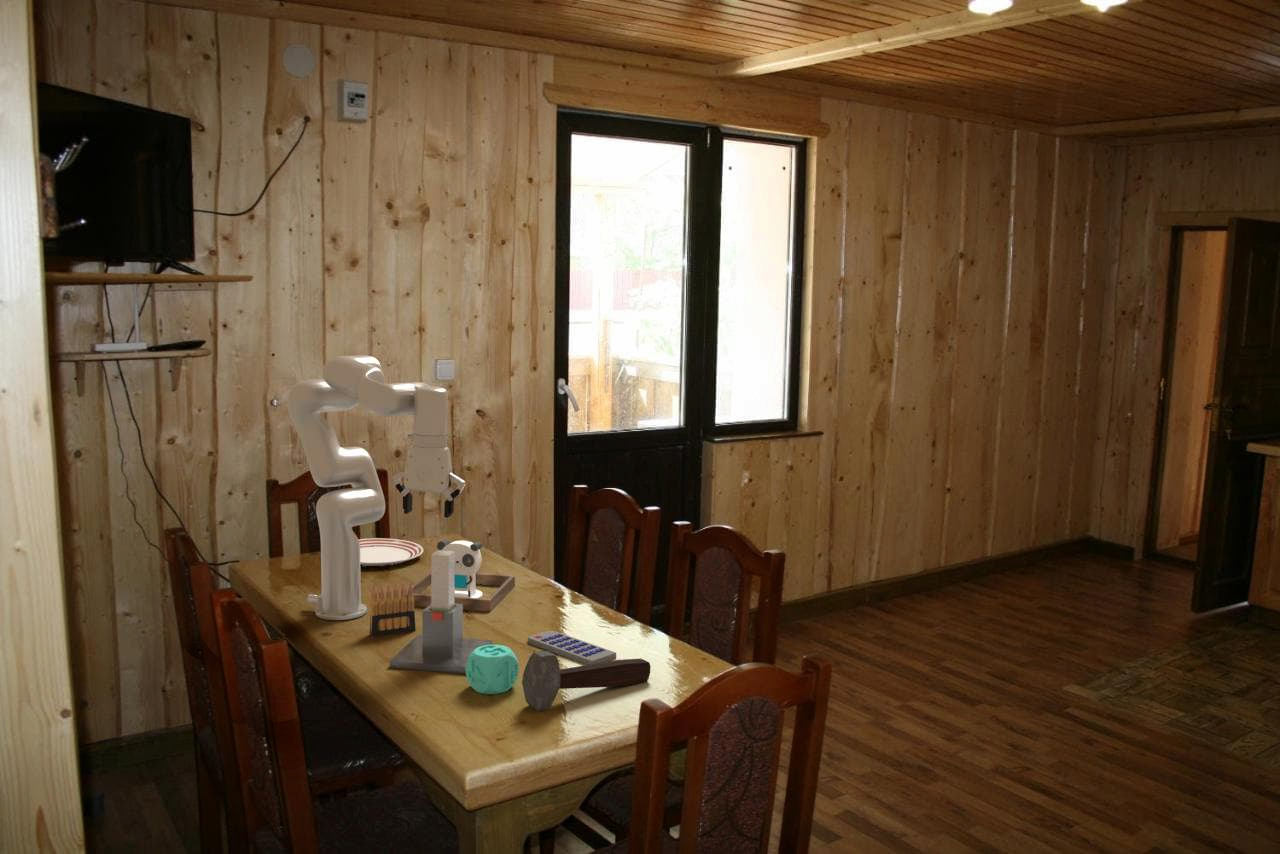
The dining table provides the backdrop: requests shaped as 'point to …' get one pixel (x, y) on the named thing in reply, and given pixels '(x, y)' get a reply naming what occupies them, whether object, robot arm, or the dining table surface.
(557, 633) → the remote control
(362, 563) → the dinner plate
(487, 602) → the frame
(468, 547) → the panda figurine
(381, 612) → the ammunition clip
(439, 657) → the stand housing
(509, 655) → the decorative dice
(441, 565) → the column
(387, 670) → the dining table surface
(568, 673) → the hammer
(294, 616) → the dining table surface
